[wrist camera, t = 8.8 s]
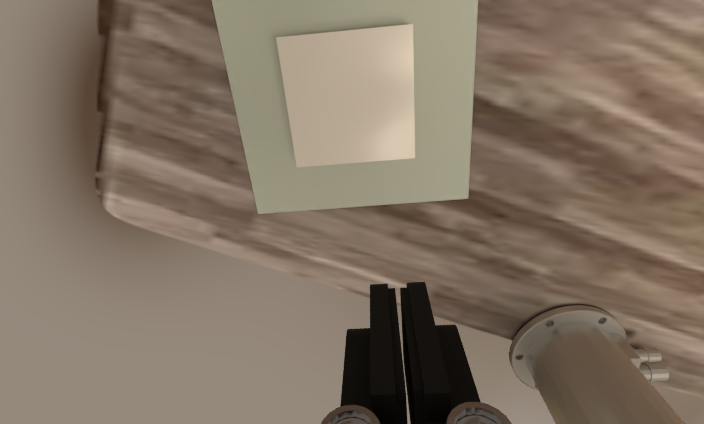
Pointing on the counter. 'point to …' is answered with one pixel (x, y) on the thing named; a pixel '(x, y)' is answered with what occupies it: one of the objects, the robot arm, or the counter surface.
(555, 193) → the counter surface
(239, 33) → the mat
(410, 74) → the tile
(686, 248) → the counter surface
